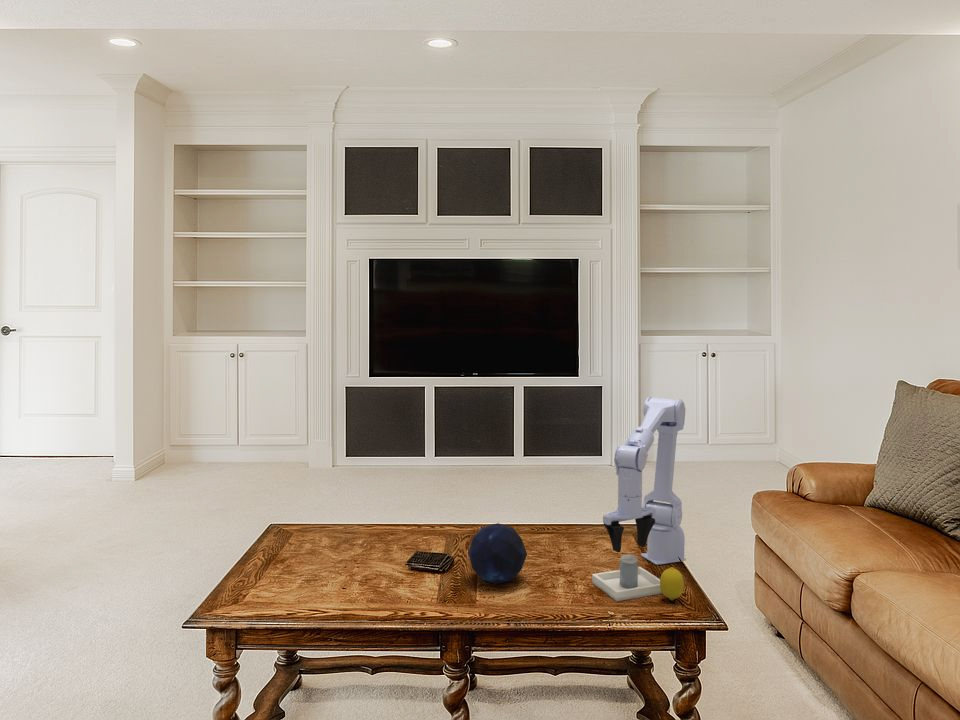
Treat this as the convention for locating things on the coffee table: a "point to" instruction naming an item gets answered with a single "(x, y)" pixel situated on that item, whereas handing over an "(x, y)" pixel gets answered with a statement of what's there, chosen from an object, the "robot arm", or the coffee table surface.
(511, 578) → the decorative orb
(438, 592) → the coffee table surface
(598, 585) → the tray
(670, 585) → the lemon
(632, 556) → the cylinder
